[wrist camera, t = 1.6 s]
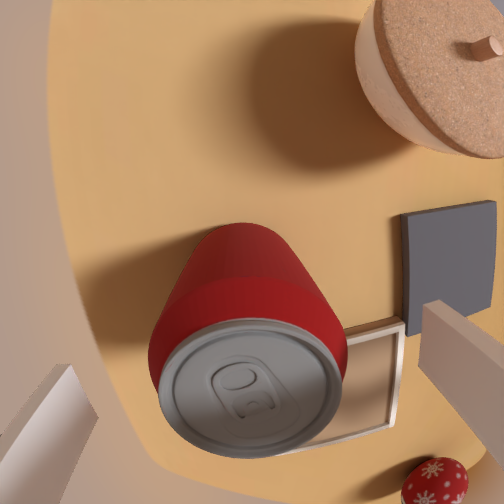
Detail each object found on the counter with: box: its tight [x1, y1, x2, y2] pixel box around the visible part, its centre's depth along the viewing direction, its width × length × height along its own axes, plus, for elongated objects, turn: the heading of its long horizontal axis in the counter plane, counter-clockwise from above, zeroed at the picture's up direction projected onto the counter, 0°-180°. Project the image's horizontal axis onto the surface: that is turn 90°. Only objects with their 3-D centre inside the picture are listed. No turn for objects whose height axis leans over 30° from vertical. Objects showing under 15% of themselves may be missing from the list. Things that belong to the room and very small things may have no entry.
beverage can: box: [148, 223, 348, 459], centre depth 14 cm, size 7×7×12 cm
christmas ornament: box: [401, 457, 468, 504], centre depth 23 cm, size 9×9×10 cm
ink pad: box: [400, 200, 497, 337], centre depth 20 cm, size 9×9×1 cm
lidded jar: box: [355, 0, 504, 159], centre depth 12 cm, size 11×11×9 cm
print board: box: [275, 316, 405, 456], centre depth 22 cm, size 11×11×1 cm
